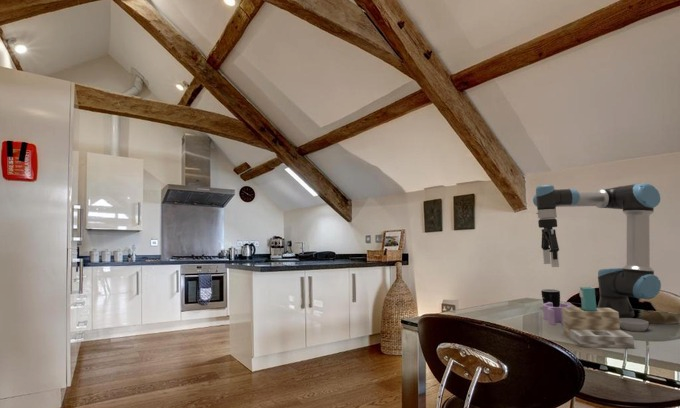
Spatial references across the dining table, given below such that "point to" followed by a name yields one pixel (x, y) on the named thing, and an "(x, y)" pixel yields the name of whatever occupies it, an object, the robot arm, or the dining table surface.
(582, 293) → the plug
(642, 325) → the saucepan
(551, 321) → the clip
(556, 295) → the mug
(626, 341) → the socket block
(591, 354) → the dining table surface
